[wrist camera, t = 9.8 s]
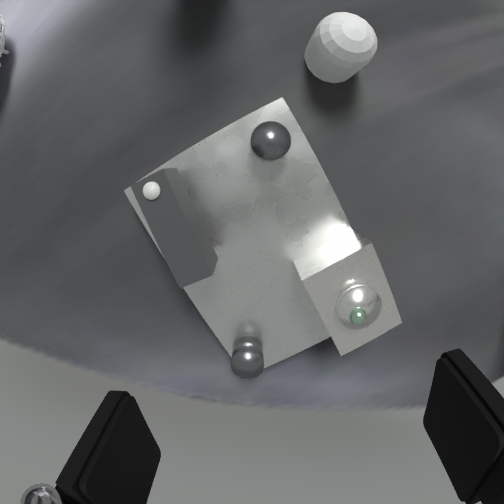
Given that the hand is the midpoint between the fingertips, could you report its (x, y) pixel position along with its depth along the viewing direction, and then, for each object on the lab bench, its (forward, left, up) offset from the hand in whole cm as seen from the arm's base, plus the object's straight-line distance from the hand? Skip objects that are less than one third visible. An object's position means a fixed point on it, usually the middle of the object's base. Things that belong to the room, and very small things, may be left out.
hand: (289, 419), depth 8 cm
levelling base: (0, 0, -23) cm, 23 cm away
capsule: (-15, -13, -23) cm, 30 cm away
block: (+4, -6, -20) cm, 21 cm away
